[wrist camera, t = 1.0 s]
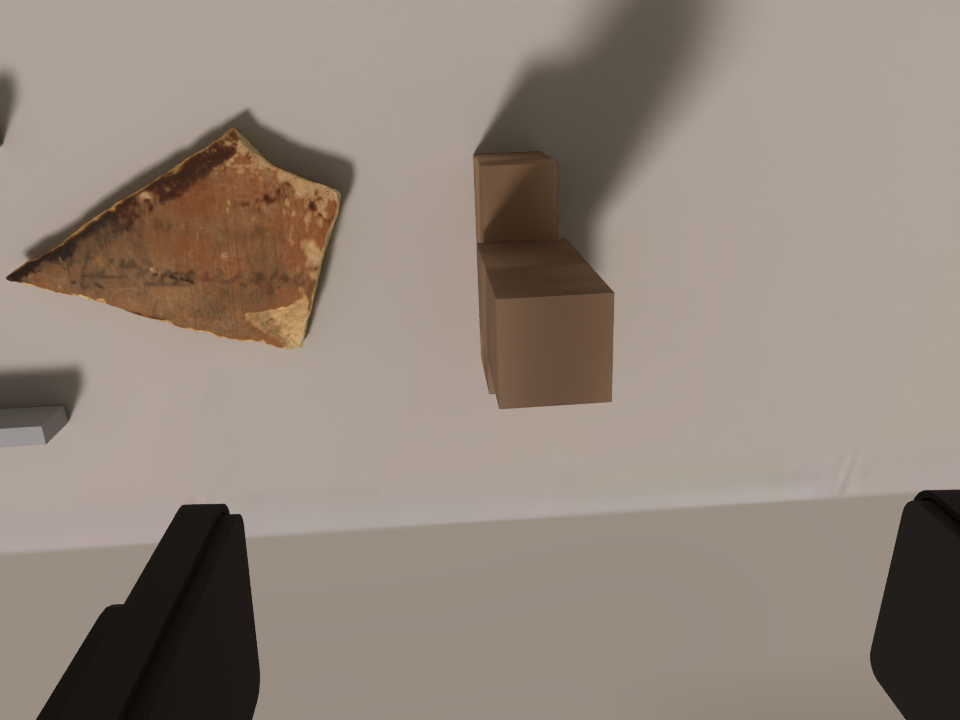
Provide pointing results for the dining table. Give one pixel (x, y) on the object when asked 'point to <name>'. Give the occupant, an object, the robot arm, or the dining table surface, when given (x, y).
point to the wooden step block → (536, 291)
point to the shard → (205, 248)
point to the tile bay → (30, 424)
